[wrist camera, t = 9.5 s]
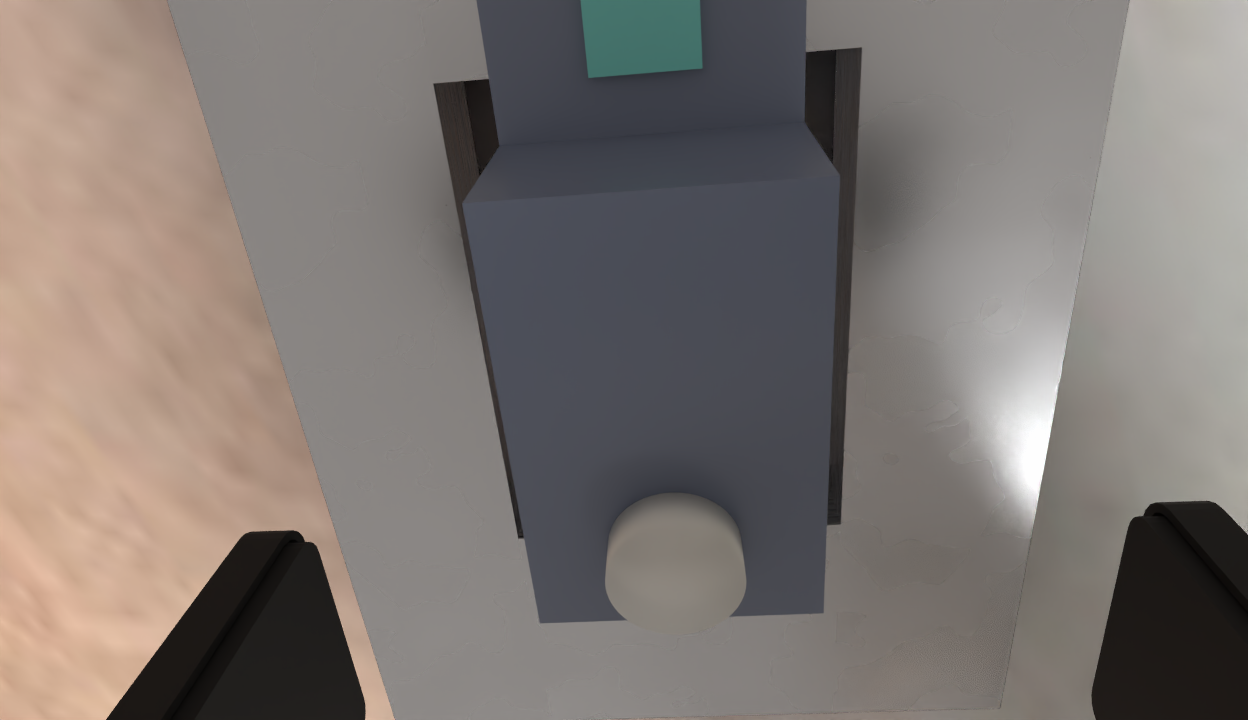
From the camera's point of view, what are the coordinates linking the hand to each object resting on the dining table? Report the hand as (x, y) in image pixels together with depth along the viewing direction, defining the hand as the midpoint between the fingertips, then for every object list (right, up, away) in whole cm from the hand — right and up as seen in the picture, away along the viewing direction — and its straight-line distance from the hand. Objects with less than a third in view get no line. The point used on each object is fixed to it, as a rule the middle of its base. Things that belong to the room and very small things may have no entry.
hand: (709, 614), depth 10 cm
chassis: (0, +4, +7) cm, 8 cm away
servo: (0, +5, +7) cm, 8 cm away
